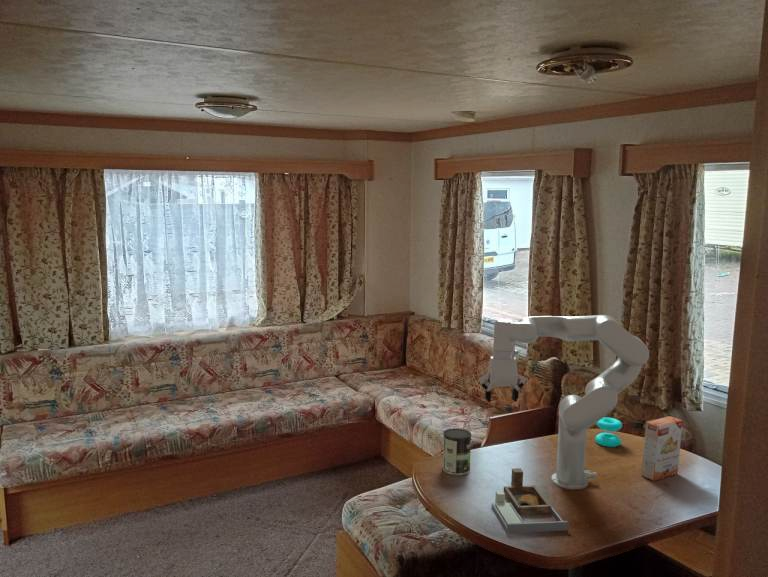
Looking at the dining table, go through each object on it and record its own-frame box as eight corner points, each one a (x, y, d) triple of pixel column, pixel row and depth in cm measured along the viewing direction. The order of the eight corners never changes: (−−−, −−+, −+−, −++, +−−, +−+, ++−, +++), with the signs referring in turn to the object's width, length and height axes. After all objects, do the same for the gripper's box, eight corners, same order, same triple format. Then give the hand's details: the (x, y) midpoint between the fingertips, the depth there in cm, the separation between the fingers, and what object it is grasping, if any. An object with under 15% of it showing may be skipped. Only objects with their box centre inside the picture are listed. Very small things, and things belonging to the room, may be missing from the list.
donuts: (599, 423, 259) (594, 415, 269) (597, 447, 260) (593, 438, 270) (625, 425, 258) (619, 417, 267) (623, 449, 259) (617, 439, 269)
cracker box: (654, 482, 228) (659, 426, 226) (640, 476, 234) (644, 421, 231) (679, 474, 236) (683, 419, 233) (664, 468, 241) (668, 414, 238)
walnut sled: (530, 486, 222) (531, 467, 221) (550, 513, 204) (552, 492, 203) (499, 488, 221) (500, 468, 220) (517, 514, 202) (518, 494, 201)
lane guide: (547, 505, 210) (547, 496, 209) (567, 531, 194) (567, 521, 193) (491, 507, 208) (492, 498, 207) (507, 534, 191) (507, 524, 191)
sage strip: (505, 502, 211) (505, 490, 210) (523, 530, 193) (524, 518, 192) (492, 502, 210) (492, 491, 210) (509, 531, 192) (509, 518, 192)
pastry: (522, 498, 215) (523, 487, 215) (542, 502, 212) (543, 492, 212) (514, 509, 207) (515, 498, 206) (535, 515, 204) (536, 503, 203)
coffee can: (471, 465, 241) (472, 429, 239) (469, 476, 231) (470, 439, 229) (443, 462, 243) (444, 427, 241) (440, 473, 233) (441, 436, 231)
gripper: (523, 351, 230) (521, 397, 233) (477, 351, 228) (475, 398, 230) (530, 356, 223) (528, 403, 225) (483, 357, 221) (480, 404, 223)
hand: (501, 400), depth 228 cm, fingers open, 9 cm apart
